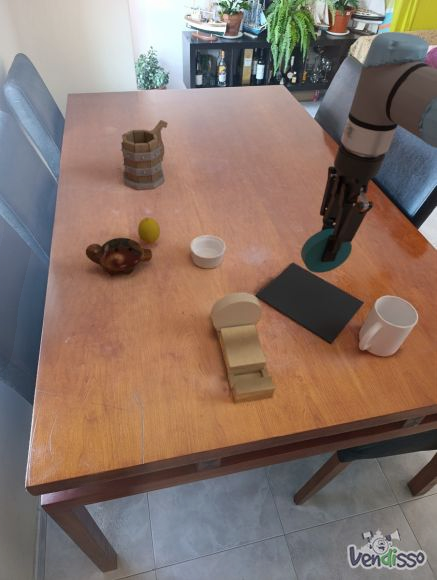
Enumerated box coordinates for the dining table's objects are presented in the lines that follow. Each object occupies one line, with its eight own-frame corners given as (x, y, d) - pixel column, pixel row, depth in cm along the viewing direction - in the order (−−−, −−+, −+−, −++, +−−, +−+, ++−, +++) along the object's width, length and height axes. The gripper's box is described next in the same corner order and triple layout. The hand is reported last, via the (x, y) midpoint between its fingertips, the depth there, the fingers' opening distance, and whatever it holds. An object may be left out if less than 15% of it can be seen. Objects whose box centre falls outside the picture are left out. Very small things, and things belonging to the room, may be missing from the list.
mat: (363, 303, 88) (364, 302, 88) (330, 344, 79) (331, 343, 79) (292, 263, 96) (292, 262, 96) (255, 296, 88) (255, 295, 87)
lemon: (135, 241, 99) (132, 216, 93) (153, 234, 102) (151, 209, 96) (147, 252, 96) (144, 227, 90) (164, 244, 99) (163, 219, 93)
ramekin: (231, 256, 97) (232, 243, 94) (211, 275, 92) (212, 262, 89) (203, 243, 100) (204, 230, 97) (183, 260, 95) (182, 247, 92)
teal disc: (343, 270, 81) (358, 233, 74) (300, 274, 79) (311, 237, 72) (338, 263, 82) (353, 226, 75) (296, 267, 81) (306, 230, 73)
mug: (367, 372, 75) (387, 343, 67) (337, 343, 80) (353, 312, 72) (405, 346, 80) (427, 316, 72) (374, 321, 84) (392, 289, 77)
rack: (271, 401, 70) (276, 387, 66) (233, 407, 68) (235, 394, 65) (245, 318, 83) (248, 303, 79) (212, 322, 82) (214, 307, 78)
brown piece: (86, 261, 93) (81, 234, 87) (146, 252, 98) (146, 226, 92) (91, 286, 86) (87, 259, 81) (156, 276, 91) (156, 249, 86)
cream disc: (258, 330, 78) (265, 298, 71) (211, 336, 76) (214, 304, 69) (255, 321, 80) (262, 289, 72) (209, 327, 78) (211, 295, 71)
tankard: (146, 194, 115) (142, 147, 104) (115, 181, 119) (108, 134, 108) (184, 168, 127) (184, 124, 116) (155, 157, 131) (151, 113, 120)
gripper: (323, 127, 65) (295, 233, 82) (363, 172, 55) (322, 283, 72) (362, 126, 67) (326, 231, 84) (408, 170, 56) (357, 279, 74)
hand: (324, 255), depth 78 cm, fingers closed on teal disc, 2 cm apart
